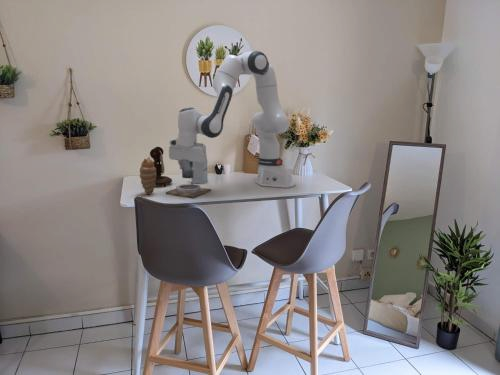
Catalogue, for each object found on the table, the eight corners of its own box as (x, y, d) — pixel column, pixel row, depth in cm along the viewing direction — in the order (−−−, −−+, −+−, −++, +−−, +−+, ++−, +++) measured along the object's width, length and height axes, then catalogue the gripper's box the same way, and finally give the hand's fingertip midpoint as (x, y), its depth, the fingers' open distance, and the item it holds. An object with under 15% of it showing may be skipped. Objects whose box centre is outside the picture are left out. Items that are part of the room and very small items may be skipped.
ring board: (210, 191, 201) (210, 185, 200) (192, 198, 187) (192, 192, 186) (184, 187, 208) (184, 181, 207) (165, 194, 194) (165, 188, 193)
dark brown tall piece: (169, 188, 206) (167, 149, 201) (140, 187, 206) (138, 149, 201) (174, 181, 220) (173, 145, 215) (147, 181, 220) (146, 145, 215)
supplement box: (203, 183, 216) (203, 161, 213) (190, 183, 217) (190, 160, 214) (207, 180, 223) (207, 158, 220) (195, 180, 224) (195, 158, 221)
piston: (195, 176, 197) (195, 158, 194) (189, 178, 192) (189, 160, 190) (186, 175, 199) (186, 157, 197) (180, 177, 194) (179, 159, 192)
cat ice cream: (145, 191, 198) (143, 155, 194) (160, 192, 197) (158, 156, 192) (137, 195, 190) (135, 158, 185) (152, 197, 188) (151, 159, 184)
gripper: (209, 143, 190) (209, 171, 193) (174, 139, 198) (175, 166, 202) (202, 144, 184) (202, 173, 187) (166, 141, 193) (167, 168, 196)
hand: (187, 170), depth 194 cm, fingers closed on piston, 5 cm apart
